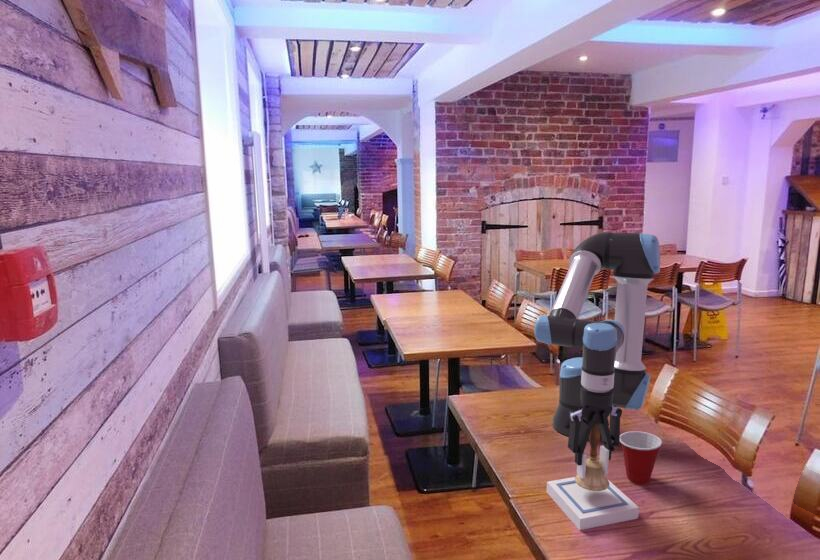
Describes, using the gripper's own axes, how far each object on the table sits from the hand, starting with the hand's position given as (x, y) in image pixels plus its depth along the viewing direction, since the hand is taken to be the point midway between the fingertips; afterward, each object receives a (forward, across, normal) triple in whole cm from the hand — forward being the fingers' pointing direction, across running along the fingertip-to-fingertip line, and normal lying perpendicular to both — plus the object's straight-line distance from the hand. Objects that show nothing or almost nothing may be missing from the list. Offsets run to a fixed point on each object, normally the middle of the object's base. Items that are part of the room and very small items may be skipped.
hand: (592, 473), depth 135 cm
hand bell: (+3, 0, 0) cm, 3 cm away
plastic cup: (+9, +19, +7) cm, 22 cm away
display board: (+9, 0, 0) cm, 9 cm away
